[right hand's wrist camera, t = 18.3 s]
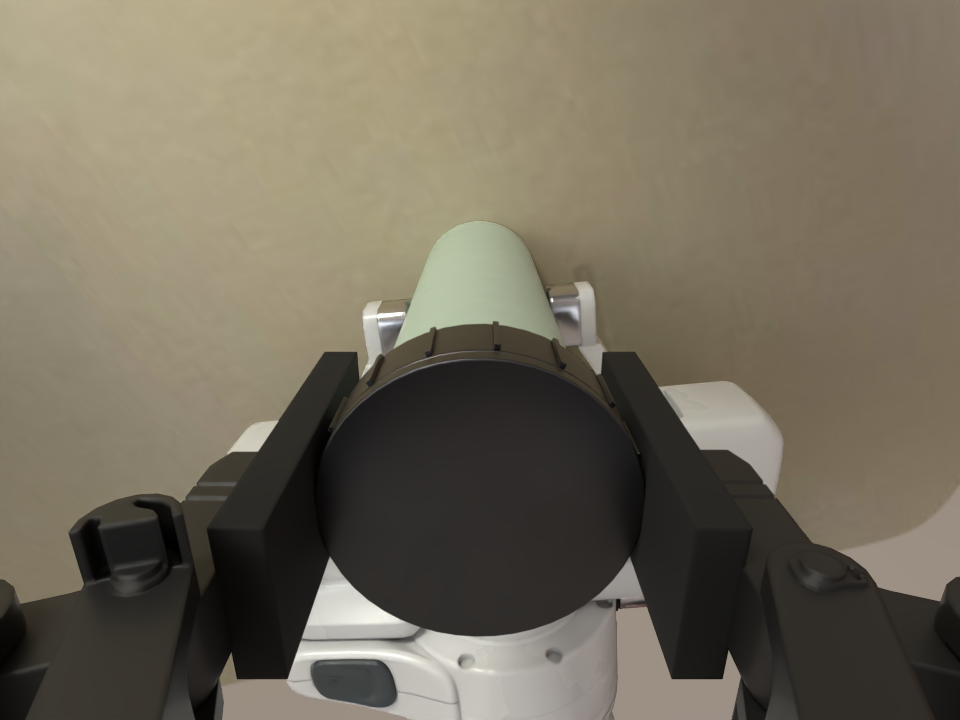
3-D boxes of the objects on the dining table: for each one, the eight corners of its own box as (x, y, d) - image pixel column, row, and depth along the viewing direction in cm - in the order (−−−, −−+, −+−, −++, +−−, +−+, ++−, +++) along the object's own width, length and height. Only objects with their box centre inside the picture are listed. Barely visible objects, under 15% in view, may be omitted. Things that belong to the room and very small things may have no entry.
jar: (540, 225, 26) (629, 378, 10) (527, 331, 27) (588, 595, 12) (428, 216, 25) (351, 357, 10) (422, 323, 27) (350, 580, 12)
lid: (308, 336, 11) (278, 373, 9) (623, 306, 11) (649, 339, 9) (361, 584, 13) (344, 649, 12) (626, 562, 13) (647, 627, 11)
